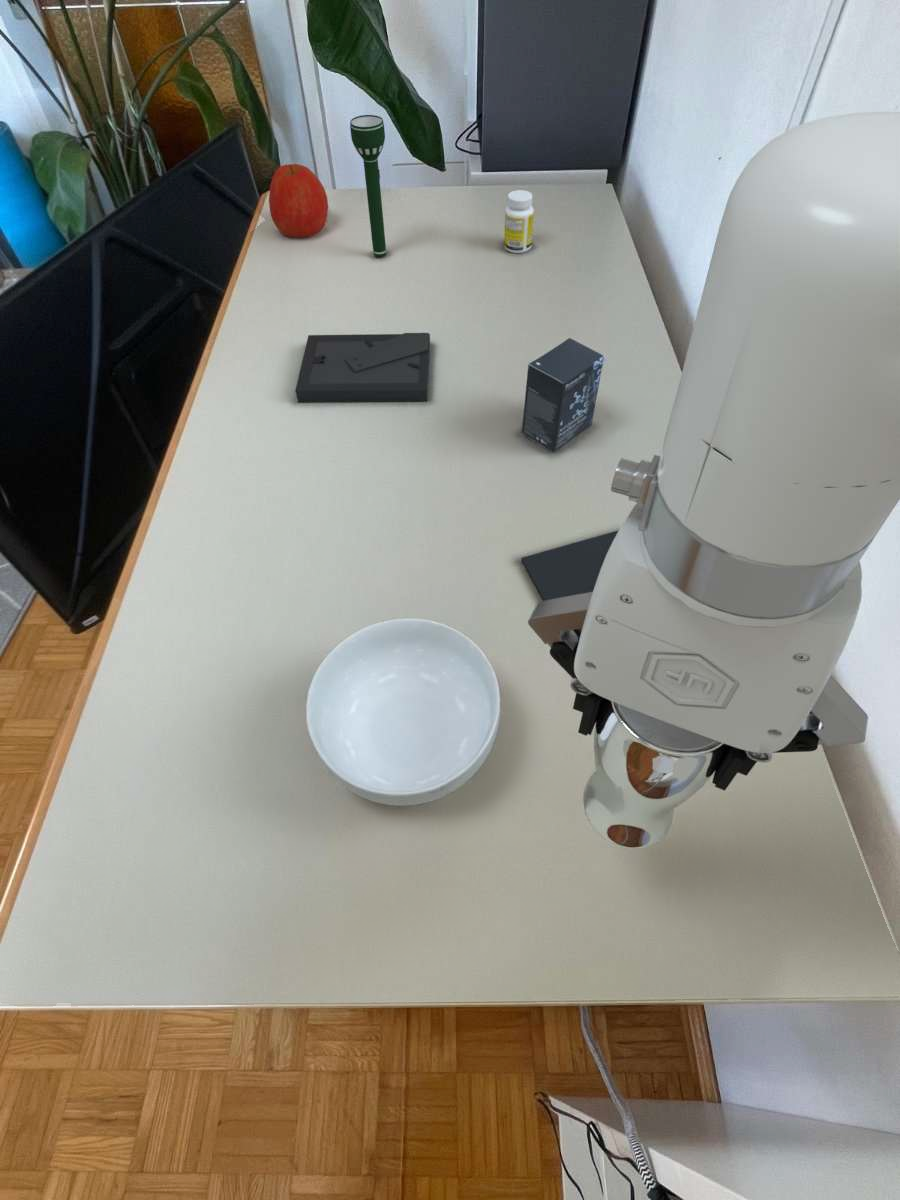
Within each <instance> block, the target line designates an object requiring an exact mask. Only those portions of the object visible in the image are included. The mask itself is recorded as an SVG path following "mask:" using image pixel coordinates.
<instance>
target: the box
mask: <svg viewBox="0 0 900 1200" xmlns="http://www.w3.org/2000/svg"><path fill="white" fill-rule="evenodd" d="M604 360H605V355H604V354H602V353H599V352H598V351H596V350H594V349H592V348H590V347H588V346H586V345H584V344H582V343H581V342H578V341H577V340H574V339H573V338H571V337H568V338H567V339H565V340H564V341H562V342H561V343H559V344H558V345H557V346H555V347H554V348H552V349H551V350H549V351H547V352H546V353H544V354H543V355H541V356H540V357H538V358H536V359H534V360H533V361H531V362H530V363H528V364H527V373H526V374H527V375H526V384H525V385H526V386H525V395H524V405H523V417H522V427H521V435H523V436H524V437H526V438H528V439H529V440H531V441H532V442H533V443H536V444H537V445H539V446H540V447H542V448H543V449H545V450H547V451H548V452H550V453H552V454H554V453H556V452H557V451H558V450H559V449H561V448H562V447H564V446H565V445H566V444H568V443H569V442H570V441H572V440H573V439H574V438H576V437H578V436H579V435H580V434H582V433H583V432H584V431H586V430H587V429H589V428H590V427H591V426H592V424H593V420H594V414H595V413H594V412H595V409H596V403H597V397H598V392H599V388H600V381H601V375H602V370H603V366H604Z"/></svg>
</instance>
